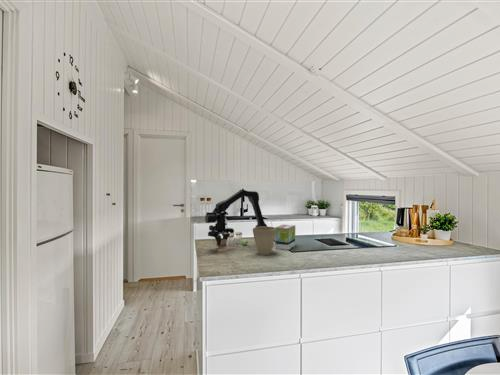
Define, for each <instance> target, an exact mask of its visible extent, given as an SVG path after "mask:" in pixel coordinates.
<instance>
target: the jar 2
mask: <svg viewBox="0 0 500 375" xmlns="http://www.w3.org/2000/svg"><path fill="white" fill-rule="evenodd" d="M242 240H243V231H236V232H235V245H243V244H242Z"/></svg>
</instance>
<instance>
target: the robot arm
mask: <svg viewBox="0 0 500 375" xmlns="http://www.w3.org/2000/svg"><path fill="white" fill-rule="evenodd" d="M243 197H245V198H246V197H247V199H248V201H249V202H250V204H251V205H252V209H253V212H254V216H255V219H256V225H255V227H265V226H266V227H268V225H267V223H266V222H265V220H264V218H263V214H262V211H261V210H262V209H261V207H260V204H259V203H260V202H259V201H260V196H259V192H258V191H255V190H254V191H253V190H252V191H249V190H246V189H239V191H237V192H236V193H233V195H231V196H229V197H228V198H227V199H225V200H222V201H219V202H217V203H215V207H214V209H213V210H212V212H207V211H206V214H205V215H204V216H205V217H204V221H205V223H206V224H211V223H215V225H213V224H212V225H209V226H208V227H209V228H208V230H209V231H208V232H207V236H208V237H213V238H214V239H215V241H216V245H217V244H218V246H220V241H221V238H223V239H226V242H227V239H228V237H229V235H230V234H229V233H234V234H235V229H234V228H230V227H227V224H228V223H227V222H226V216H227V215H229V213H228V212H227V210H228V209H229V208H230V206H231V205H232V204H234V203H235V202H237V201H238V200H239V199H241V198H243ZM226 227H227V228H226Z"/></svg>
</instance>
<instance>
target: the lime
mask: <svg viewBox="0 0 500 375" xmlns="http://www.w3.org/2000/svg"><path fill="white" fill-rule="evenodd" d="M248 244H249V240H248V239H246V238H244V239H243V238H242V244H241V245H244V246H247V245H248Z"/></svg>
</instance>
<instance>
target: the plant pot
mask: <svg viewBox="0 0 500 375" xmlns="http://www.w3.org/2000/svg"><path fill="white" fill-rule="evenodd" d="M252 234H253V239H254V242H255V245H256V248H257V252H258V254H259V255H263V256H265V255H271V254H272V252H273V251H272V250H273V247H274V245H275V234H276V228H275V227H274V226H267V227H266V226H265V227H256V226H254V227H253V228H252Z"/></svg>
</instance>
